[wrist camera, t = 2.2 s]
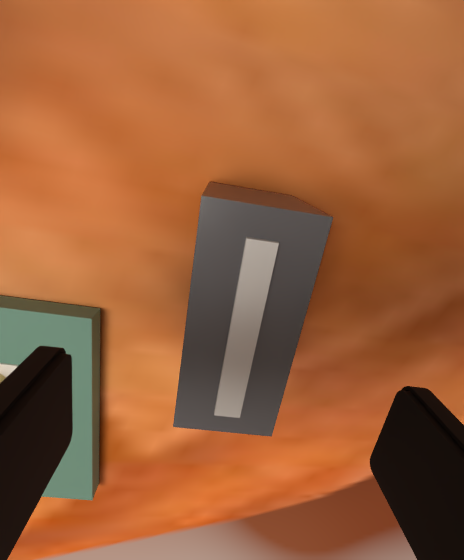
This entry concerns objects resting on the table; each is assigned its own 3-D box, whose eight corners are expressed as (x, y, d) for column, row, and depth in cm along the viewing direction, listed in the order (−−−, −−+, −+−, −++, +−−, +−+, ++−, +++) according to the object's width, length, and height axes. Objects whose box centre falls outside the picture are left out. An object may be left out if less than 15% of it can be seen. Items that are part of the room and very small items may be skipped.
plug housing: (209, 181, 14) (201, 196, 9) (291, 195, 15) (335, 218, 9) (188, 342, 18) (172, 431, 12) (256, 350, 18) (272, 440, 12)
